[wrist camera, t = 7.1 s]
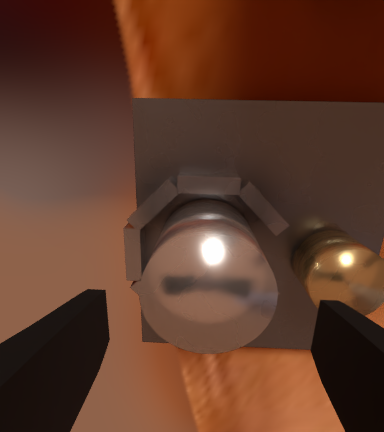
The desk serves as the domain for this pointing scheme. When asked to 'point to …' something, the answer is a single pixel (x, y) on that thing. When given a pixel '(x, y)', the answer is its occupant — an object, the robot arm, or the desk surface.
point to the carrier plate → (271, 195)
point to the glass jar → (208, 280)
